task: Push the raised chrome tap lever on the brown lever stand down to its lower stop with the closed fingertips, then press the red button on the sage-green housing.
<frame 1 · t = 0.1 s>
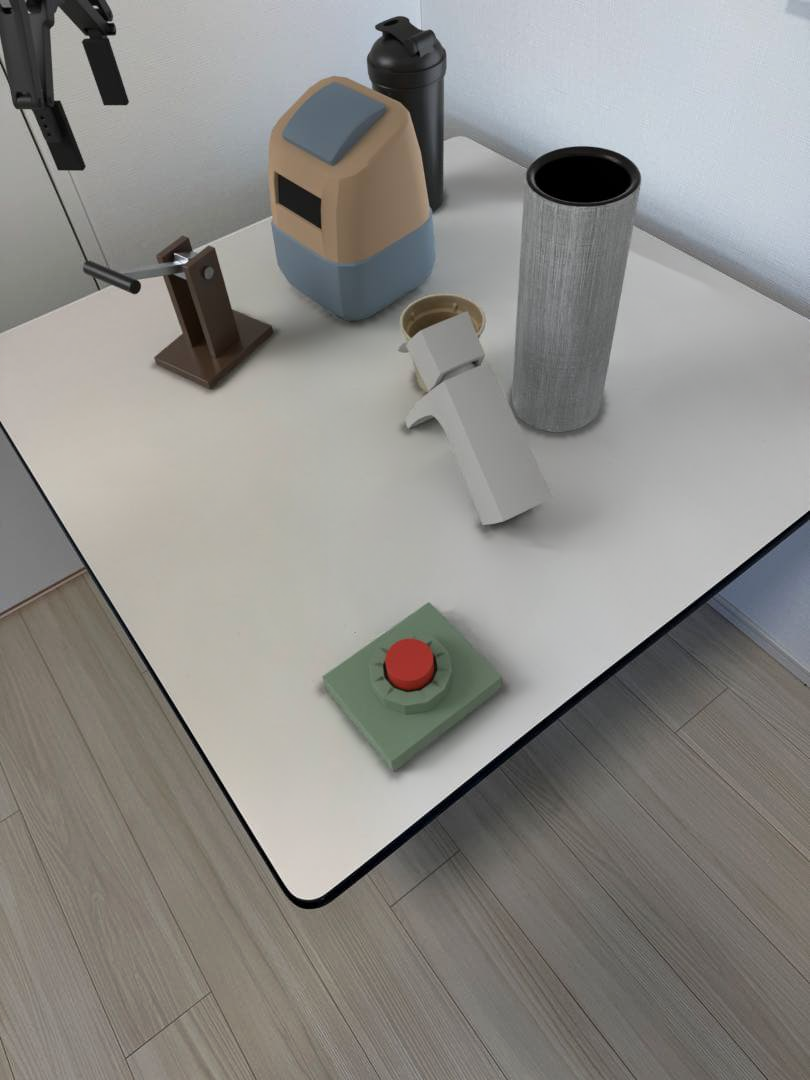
hand: (95, 135, 87), 24 cm above the table, tool pointing down, fingers open, 13 cm apart
faucet: (469, 471, 87), on the table
flower pot: (444, 380, 96), on the table
button: (409, 664, 69), point 4 cm above the table, slide at 0.1 cm
button box: (412, 688, 72), on the table
brown lever stand: (215, 348, 102), on the table
tap lever: (155, 270, 88), point 14 cm above the table, hinge at 25.0°
water bottle: (414, 201, 119), on the table
vase: (555, 403, 93), on the table
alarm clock: (359, 284, 108), on the table
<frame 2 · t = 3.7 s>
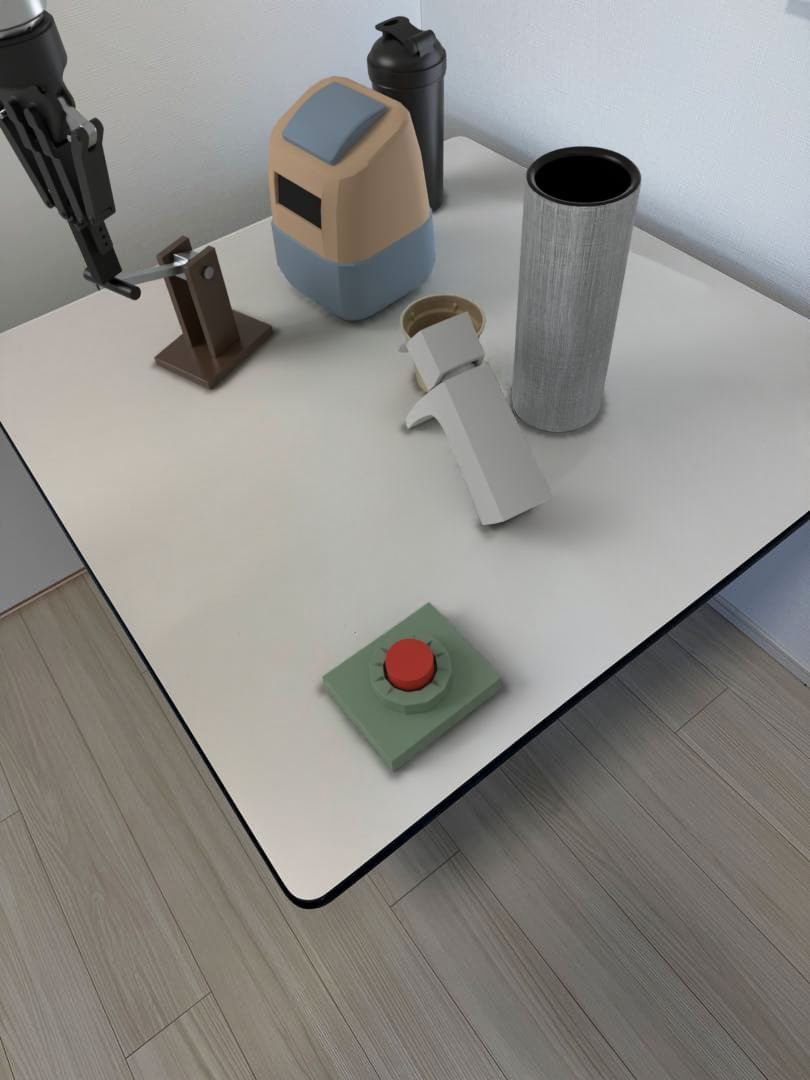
hand: (107, 275, 83), 17 cm above the table, tool pointing down, fingers closed
tap lever: (155, 273, 88), point 14 cm above the table, hinge at 21.7°, touching gripper
everything else where it was.
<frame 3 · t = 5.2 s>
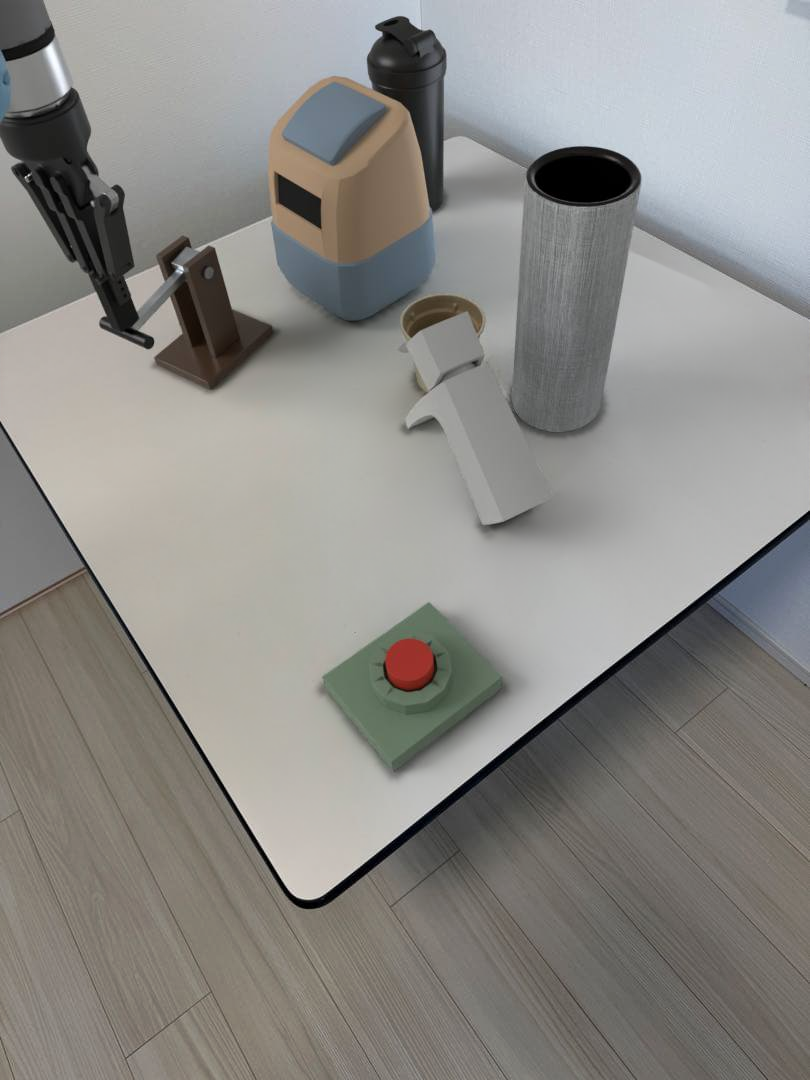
hand: (125, 322, 88), 11 cm above the table, tool pointing down, fingers closed
tap lever: (160, 296, 91), point 11 cm above the table, hinge at -9.7°, touching gripper
everything else where it was.
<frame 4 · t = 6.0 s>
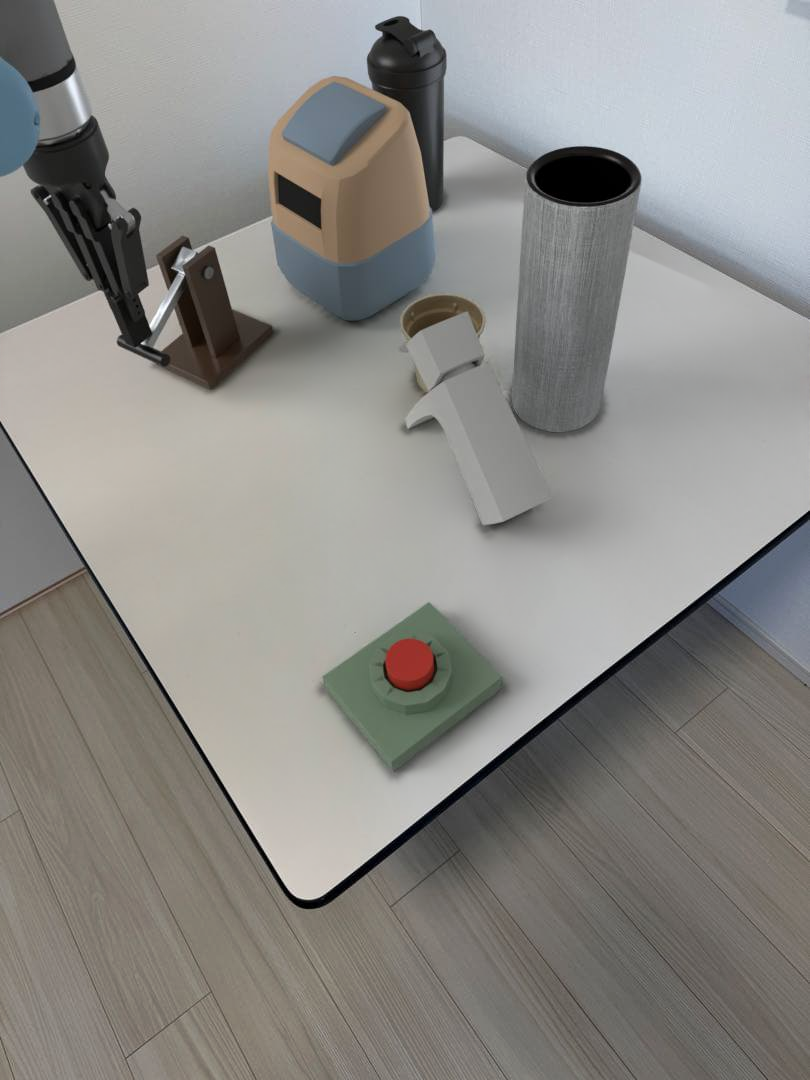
hand: (139, 338, 90), 9 cm above the table, tool pointing down, fingers closed
tap lever: (168, 305, 92), point 10 cm above the table, hinge at -27.8°, touching gripper
everything else where it was.
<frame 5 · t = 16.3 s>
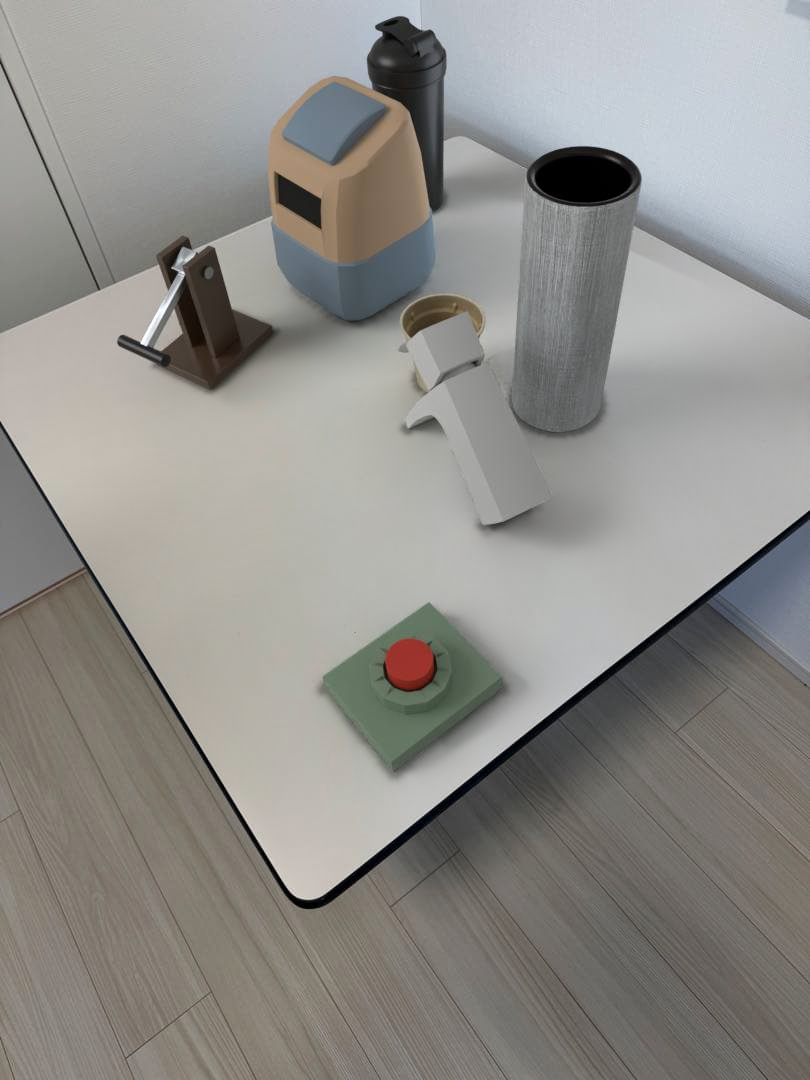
tap lever: (168, 305, 92), point 10 cm above the table, hinge at -28.1°
everything else where it was.
at the end: tap lever at -28° (first picture: +25°); button pushed in 1.0 cm at the most during the clip, back to where it started at the end; button slide at 0.1 cm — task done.
